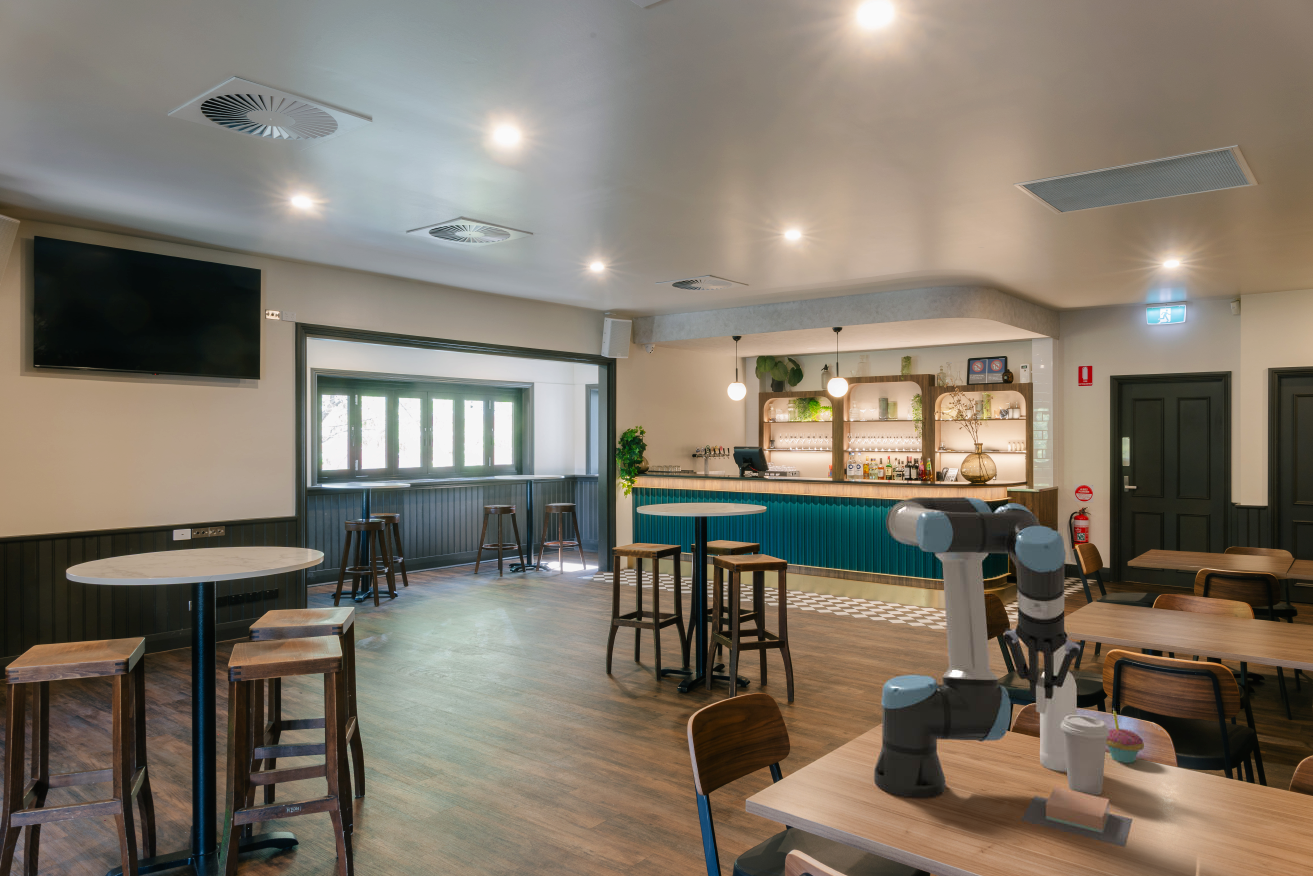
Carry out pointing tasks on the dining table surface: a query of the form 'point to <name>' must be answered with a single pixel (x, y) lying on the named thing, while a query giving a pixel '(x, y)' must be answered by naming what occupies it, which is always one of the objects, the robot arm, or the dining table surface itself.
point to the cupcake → (1123, 743)
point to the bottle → (1057, 718)
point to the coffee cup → (1084, 752)
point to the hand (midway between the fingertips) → (1041, 708)
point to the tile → (1078, 809)
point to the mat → (1112, 833)
